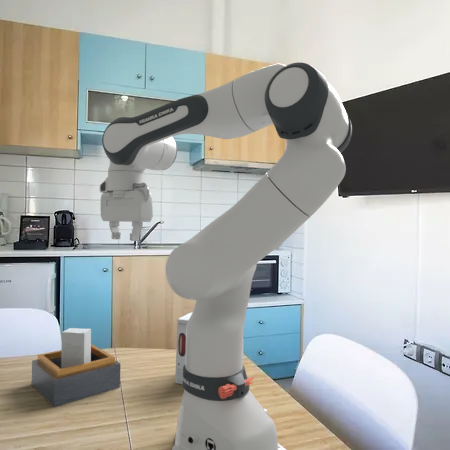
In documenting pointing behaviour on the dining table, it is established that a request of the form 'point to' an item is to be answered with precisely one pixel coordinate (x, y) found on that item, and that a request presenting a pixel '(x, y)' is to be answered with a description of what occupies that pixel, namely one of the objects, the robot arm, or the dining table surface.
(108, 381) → the grey open box
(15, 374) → the dining table surface
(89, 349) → the skincare box
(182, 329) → the supplement box
